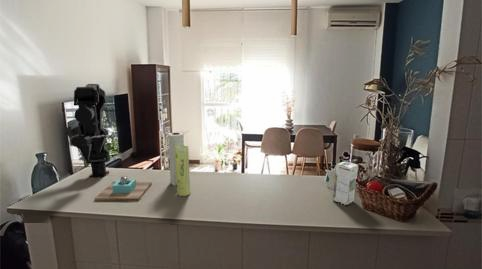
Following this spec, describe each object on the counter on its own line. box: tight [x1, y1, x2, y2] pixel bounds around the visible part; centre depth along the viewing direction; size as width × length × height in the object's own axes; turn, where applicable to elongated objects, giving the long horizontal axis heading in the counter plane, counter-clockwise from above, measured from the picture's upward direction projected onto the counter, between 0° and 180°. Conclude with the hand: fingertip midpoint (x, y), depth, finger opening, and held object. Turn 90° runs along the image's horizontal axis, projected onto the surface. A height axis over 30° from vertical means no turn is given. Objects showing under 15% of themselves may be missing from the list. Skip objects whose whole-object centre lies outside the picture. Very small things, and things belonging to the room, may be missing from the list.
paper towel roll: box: [168, 131, 185, 187], centre depth 122 cm, size 7×6×21 cm
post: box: [120, 176, 129, 185], centre depth 114 cm, size 2×2×5 cm
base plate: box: [94, 181, 153, 202], centre depth 115 cm, size 16×16×1 cm
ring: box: [112, 178, 137, 193], centre depth 114 cm, size 7×7×3 cm
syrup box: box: [332, 161, 359, 204], centre depth 107 cm, size 6×6×14 cm
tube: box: [175, 144, 191, 197], centre depth 112 cm, size 6×5×20 cm
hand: (92, 157), depth 119 cm, fingers open, 9 cm apart
